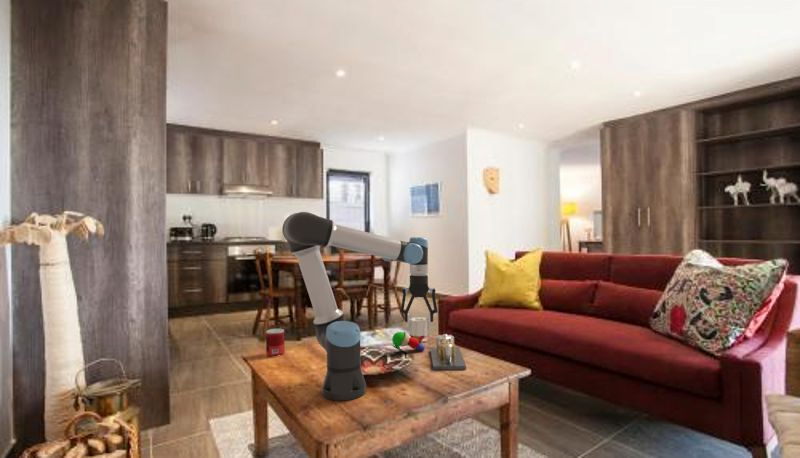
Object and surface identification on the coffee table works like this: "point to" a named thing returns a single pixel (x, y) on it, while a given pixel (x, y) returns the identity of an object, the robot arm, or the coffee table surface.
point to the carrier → (447, 354)
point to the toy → (406, 341)
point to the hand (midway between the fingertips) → (418, 329)
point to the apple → (418, 337)
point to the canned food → (275, 342)
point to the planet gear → (418, 326)
